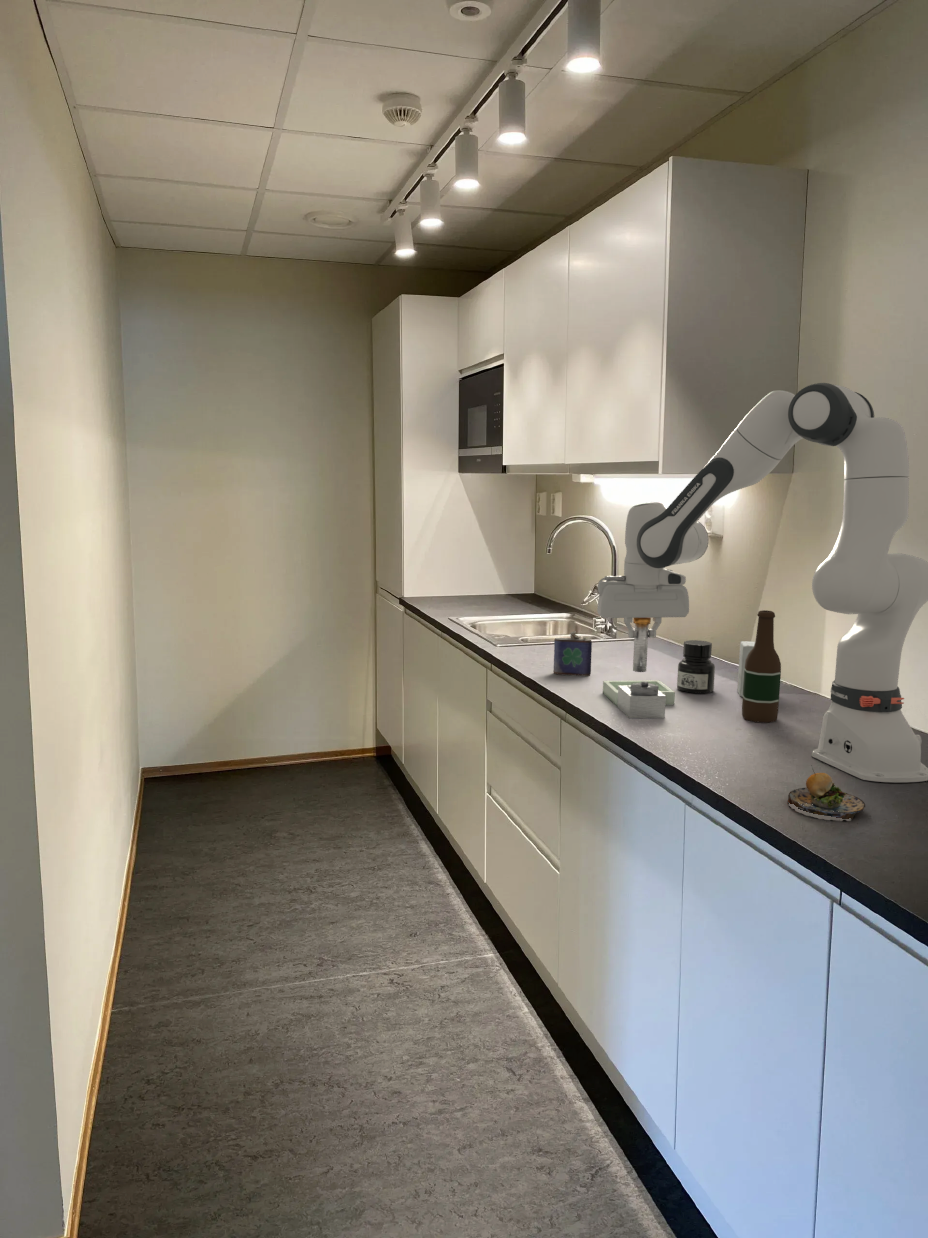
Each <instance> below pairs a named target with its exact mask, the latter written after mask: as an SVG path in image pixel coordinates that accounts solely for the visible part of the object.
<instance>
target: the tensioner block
mask: <svg viewBox="0 0 928 1238" xmlns="http://www.w3.org/2000/svg"><path fill="white" fill-rule="evenodd" d="M665 702H666V696H665V695H664V694H663V693H662V692H660V691H659V690H658V686H657V685H655V684H650V683H648V682H641V683H634V684H631V686H618V701H617V705H616V706H617V707H616V708H618V709H619V710H620V711H621V712H622V713H623V714H624V715H625V716H626V717H627V718H628V717H629V718H628V719H666V705H665Z"/></svg>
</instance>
